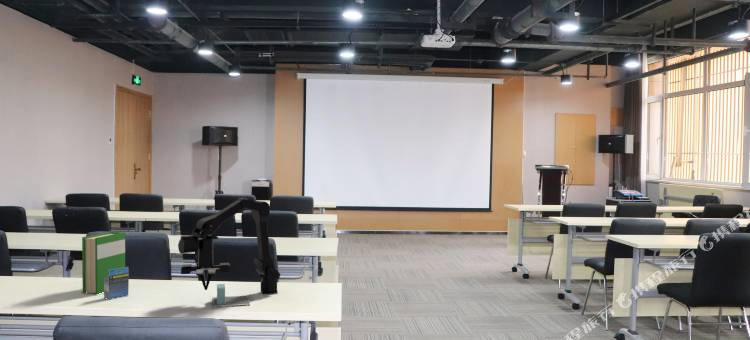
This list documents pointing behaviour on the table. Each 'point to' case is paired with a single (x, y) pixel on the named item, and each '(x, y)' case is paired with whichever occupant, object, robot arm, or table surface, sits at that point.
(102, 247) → the hardback book
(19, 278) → the table surface
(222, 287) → the block
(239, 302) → the mat
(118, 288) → the label tape box
